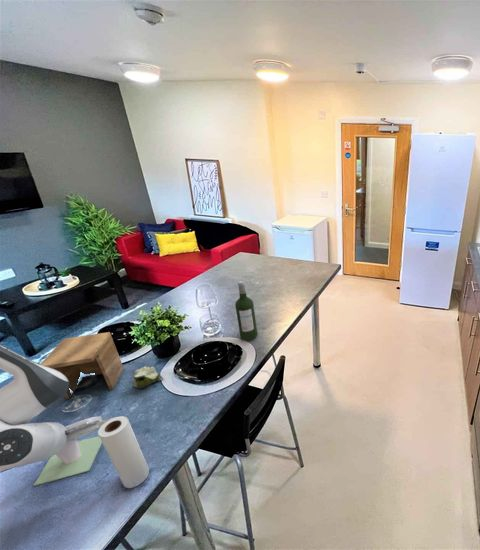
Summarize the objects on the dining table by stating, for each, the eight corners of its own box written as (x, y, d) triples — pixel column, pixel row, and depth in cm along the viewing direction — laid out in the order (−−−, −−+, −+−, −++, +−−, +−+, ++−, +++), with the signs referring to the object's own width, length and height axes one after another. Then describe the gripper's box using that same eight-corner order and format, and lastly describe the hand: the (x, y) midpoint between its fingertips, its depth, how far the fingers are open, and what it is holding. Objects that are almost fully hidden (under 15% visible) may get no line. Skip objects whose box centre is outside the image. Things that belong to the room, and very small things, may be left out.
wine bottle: (254, 329, 149) (246, 277, 137) (259, 336, 144) (252, 283, 131) (238, 334, 144) (229, 281, 132) (243, 342, 139) (234, 287, 127)
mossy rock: (148, 395, 110) (137, 382, 106) (131, 390, 113) (120, 377, 109) (168, 375, 117) (159, 362, 113) (152, 371, 120) (142, 358, 116)
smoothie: (87, 443, 90) (70, 411, 84) (86, 459, 86) (68, 427, 80) (58, 456, 86) (38, 423, 81) (56, 473, 82) (34, 440, 76)
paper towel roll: (151, 478, 82) (129, 426, 73) (124, 493, 78) (98, 441, 70) (146, 459, 87) (125, 408, 78) (121, 473, 83) (96, 421, 74)
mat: (33, 486, 79) (33, 485, 79) (57, 446, 89) (57, 446, 89) (88, 471, 83) (88, 470, 83) (105, 435, 93) (105, 434, 93)
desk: (60, 407, 102) (37, 367, 95) (81, 376, 116) (63, 338, 108) (108, 397, 107) (91, 358, 99) (124, 368, 120) (109, 331, 113)
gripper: (93, 409, 79) (107, 410, 90) (-23, 451, 67) (9, 446, 78) (98, 432, 78) (111, 430, 89) (-20, 479, 66) (12, 470, 77)
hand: (62, 438), depth 83 cm, fingers closed on smoothie, 6 cm apart
